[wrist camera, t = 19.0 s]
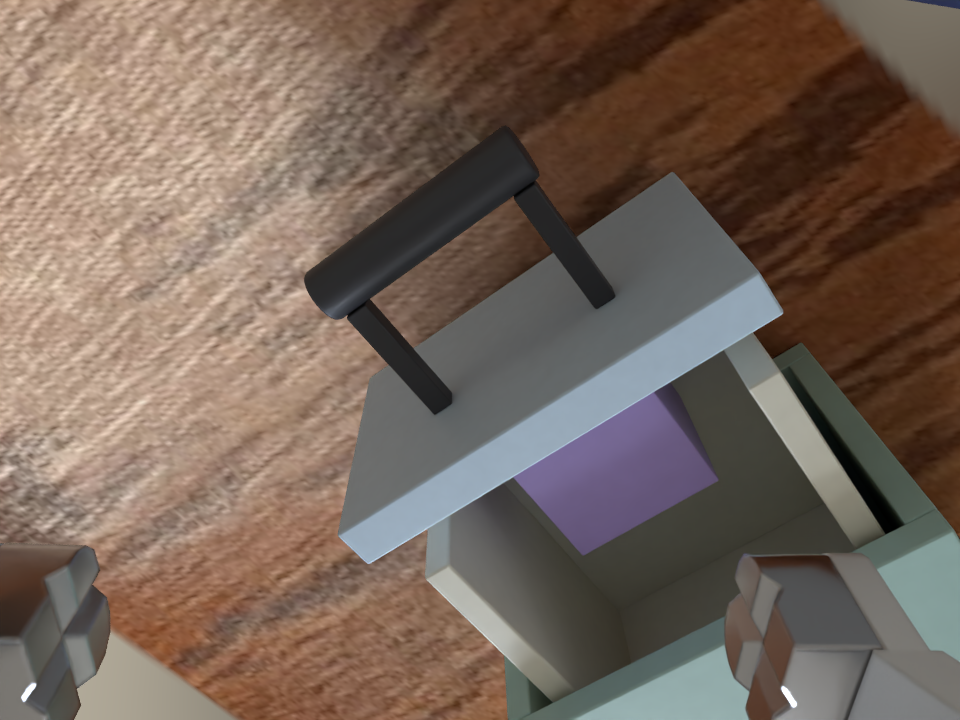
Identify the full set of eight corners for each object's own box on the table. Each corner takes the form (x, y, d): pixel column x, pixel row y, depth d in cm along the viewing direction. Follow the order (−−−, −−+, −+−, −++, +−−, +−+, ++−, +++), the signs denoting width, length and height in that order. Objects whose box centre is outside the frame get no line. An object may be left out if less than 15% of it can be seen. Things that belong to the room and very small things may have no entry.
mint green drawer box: (495, 521, 31) (508, 750, 22) (801, 341, 27) (953, 529, 19) (688, 727, 36) (756, 972, 28) (960, 599, 33) (1133, 833, 24)
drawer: (264, 264, 25) (187, 396, 18) (579, 23, 22) (635, 68, 15) (592, 618, 32) (628, 810, 25) (864, 474, 29) (990, 647, 22)
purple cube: (607, 295, 24) (635, 366, 20) (681, 397, 26) (719, 480, 22) (487, 373, 25) (491, 454, 21) (565, 465, 27) (582, 557, 23)
